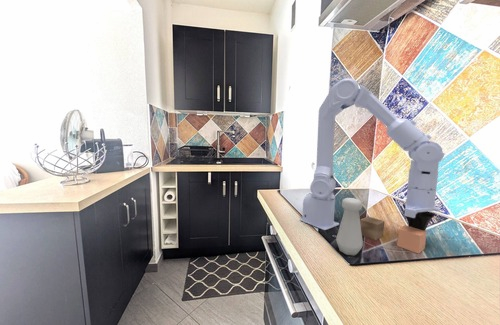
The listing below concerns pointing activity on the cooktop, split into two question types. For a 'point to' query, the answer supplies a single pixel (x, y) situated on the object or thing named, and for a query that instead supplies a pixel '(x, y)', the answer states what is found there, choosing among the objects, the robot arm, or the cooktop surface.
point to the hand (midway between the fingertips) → (416, 238)
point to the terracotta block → (412, 239)
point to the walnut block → (372, 228)
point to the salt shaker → (350, 228)
